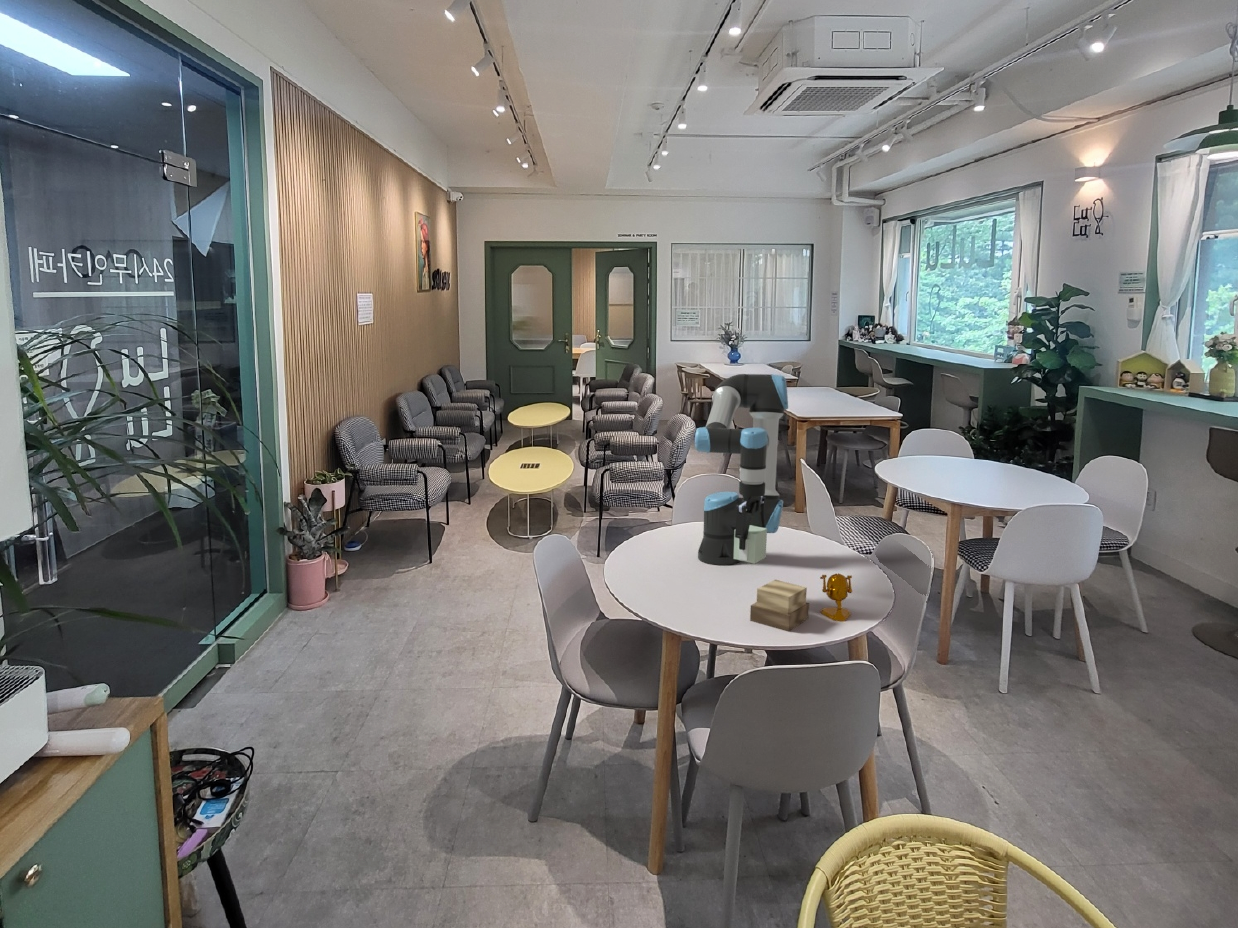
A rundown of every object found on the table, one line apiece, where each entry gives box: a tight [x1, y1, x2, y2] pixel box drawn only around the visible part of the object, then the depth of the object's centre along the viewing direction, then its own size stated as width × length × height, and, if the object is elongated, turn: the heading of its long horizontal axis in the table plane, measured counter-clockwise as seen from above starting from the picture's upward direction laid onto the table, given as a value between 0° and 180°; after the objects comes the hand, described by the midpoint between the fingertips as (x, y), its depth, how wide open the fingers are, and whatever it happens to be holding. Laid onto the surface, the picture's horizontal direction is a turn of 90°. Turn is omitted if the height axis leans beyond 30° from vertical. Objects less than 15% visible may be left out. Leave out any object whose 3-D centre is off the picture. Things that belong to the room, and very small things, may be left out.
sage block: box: [734, 525, 768, 565], centre depth 242 cm, size 7×7×9 cm
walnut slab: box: [749, 601, 810, 632], centre depth 231 cm, size 12×12×5 cm
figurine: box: [819, 573, 853, 622], centre depth 234 cm, size 8×11×12 cm
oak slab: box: [756, 579, 808, 614], centre depth 229 cm, size 10×10×5 cm
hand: (749, 555), depth 243 cm, fingers closed on sage block, 7 cm apart
